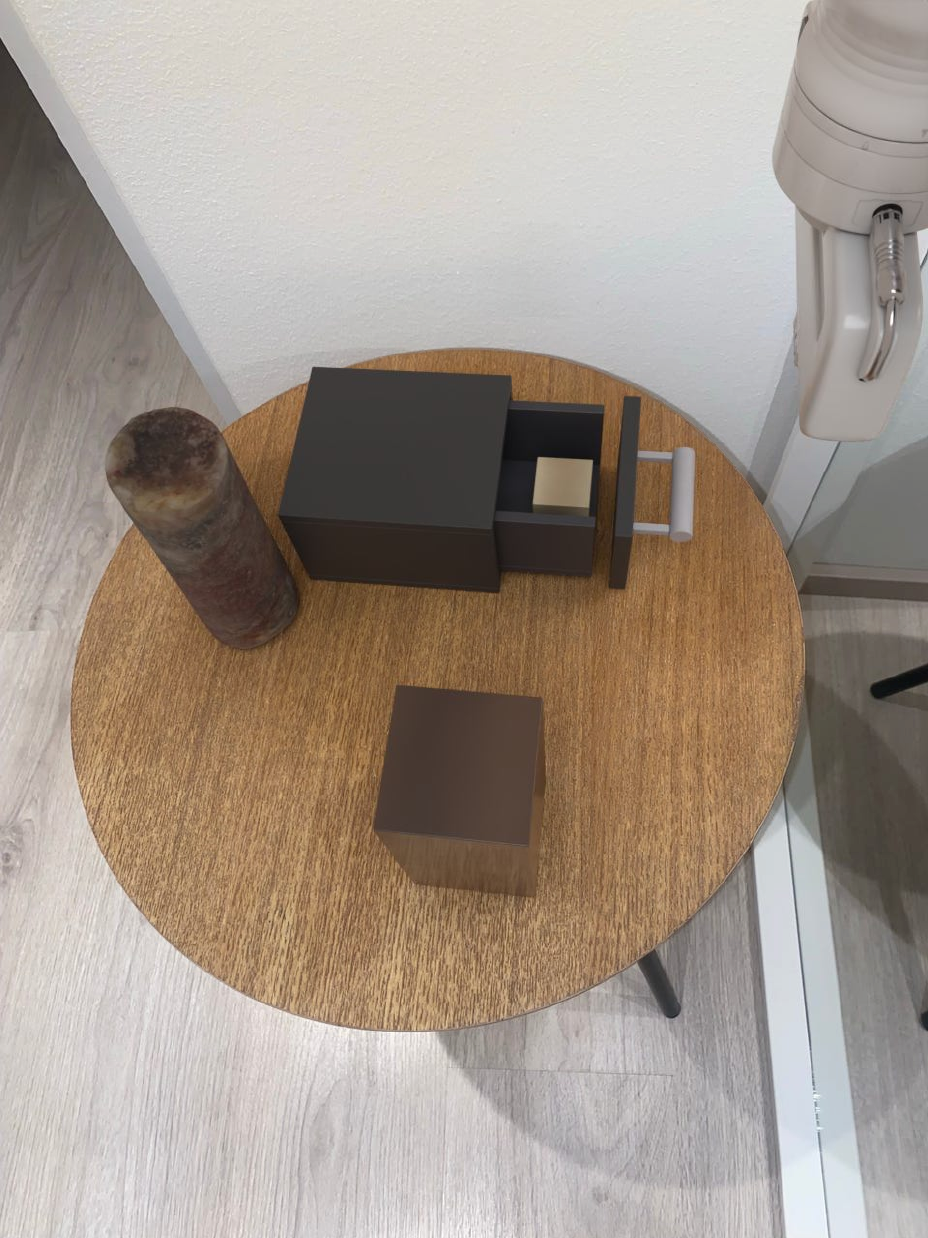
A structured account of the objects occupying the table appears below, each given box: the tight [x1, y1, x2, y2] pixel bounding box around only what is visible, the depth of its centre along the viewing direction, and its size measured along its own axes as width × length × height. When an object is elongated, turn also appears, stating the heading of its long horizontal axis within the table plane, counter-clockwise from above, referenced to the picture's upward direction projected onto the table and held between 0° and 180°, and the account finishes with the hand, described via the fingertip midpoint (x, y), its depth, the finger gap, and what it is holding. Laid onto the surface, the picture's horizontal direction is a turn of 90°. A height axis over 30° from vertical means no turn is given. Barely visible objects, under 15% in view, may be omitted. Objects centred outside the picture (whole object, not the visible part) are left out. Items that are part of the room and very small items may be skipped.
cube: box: [532, 457, 593, 517], centre depth 71 cm, size 4×4×4 cm
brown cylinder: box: [104, 406, 299, 650], centre depth 65 cm, size 8×7×20 cm
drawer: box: [494, 395, 696, 591], centre depth 70 cm, size 18×11×8 cm, turn 83°
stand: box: [372, 684, 547, 899], centre depth 58 cm, size 8×8×16 cm
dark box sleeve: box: [277, 366, 514, 594], centre depth 72 cm, size 15×13×10 cm
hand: (808, 348), depth 54 cm, fingers closed
